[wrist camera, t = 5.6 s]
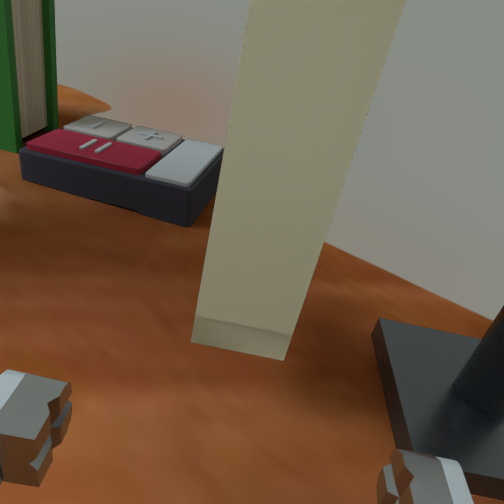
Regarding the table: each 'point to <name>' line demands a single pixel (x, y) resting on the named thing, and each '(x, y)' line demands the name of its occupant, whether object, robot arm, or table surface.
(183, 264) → the table surface
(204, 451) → the table surface
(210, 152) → the calculator
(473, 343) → the hook stand
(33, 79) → the hardback book
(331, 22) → the c-shaped bracket
